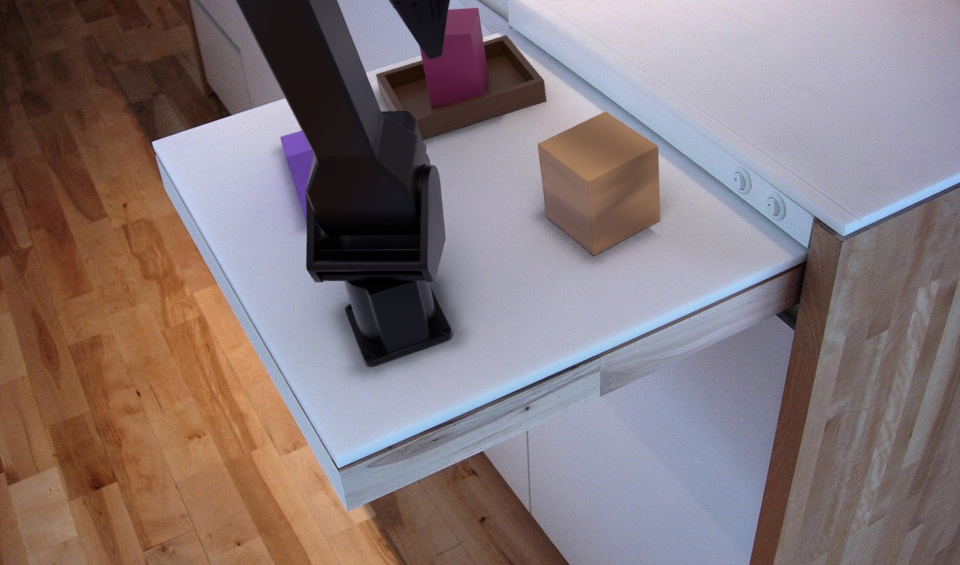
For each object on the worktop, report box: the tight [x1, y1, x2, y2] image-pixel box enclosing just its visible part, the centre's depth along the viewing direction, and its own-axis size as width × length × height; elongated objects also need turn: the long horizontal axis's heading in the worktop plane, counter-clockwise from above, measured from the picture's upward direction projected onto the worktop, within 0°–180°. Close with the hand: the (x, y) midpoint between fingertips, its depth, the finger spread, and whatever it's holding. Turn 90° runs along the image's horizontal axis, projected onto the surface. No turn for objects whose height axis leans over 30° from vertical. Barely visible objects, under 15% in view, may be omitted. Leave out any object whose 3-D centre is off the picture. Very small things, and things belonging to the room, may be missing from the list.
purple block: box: [279, 130, 314, 220], centre depth 87 cm, size 12×7×7 cm, turn 18°
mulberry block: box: [419, 7, 489, 106], centre depth 94 cm, size 5×5×7 cm
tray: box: [375, 34, 547, 141], centre depth 96 cm, size 10×13×2 cm
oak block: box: [537, 111, 661, 256], centre depth 78 cm, size 6×6×7 cm
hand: (417, 31), depth 80 cm, fingers open, 9 cm apart
